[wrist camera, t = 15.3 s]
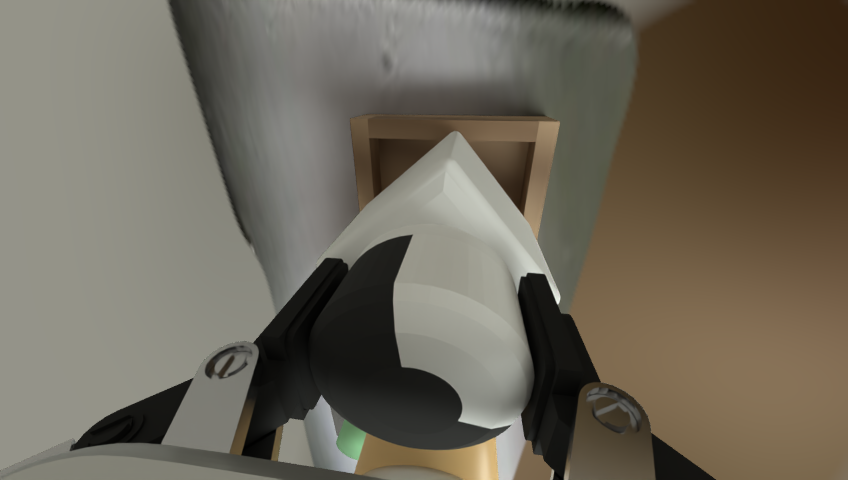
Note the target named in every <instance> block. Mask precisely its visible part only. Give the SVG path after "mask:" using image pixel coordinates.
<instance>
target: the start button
mask: <svg viewBox="0 0 848 480" xmlns="http://www.w3.org/2000/svg"><path fill="white" fill-rule="evenodd" d="M365 436H366V432H364V431H362V430H360V429H359V428H357V427H355V426H354V425H352V424H351V423H349V422H348V421H347V420H344V422H343V425H342V428H341V430H340V433H339V436H338V438H337V441H336V444H337V447H338V448H339V450H340V451H341V452H342V453H344V454H345V455H346V456H348V457H350V458H353V459H355V460H358V459H359V456H360V453H361V449H362V446H363V443H364V439H365Z"/></svg>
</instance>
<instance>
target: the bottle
mask: <svg viewBox="0 0 848 480" xmlns="http://www.w3.org/2000/svg"><path fill="white" fill-rule="evenodd" d="M354 474H358V475H364V476H370V477H376V478H382V479H388V480H498V466H497V452H496V438H493V439H490V440H488V441H486V442H484V443H481V444H478V445H475V446H471V447H466V448H461V449H452V450H425V449H415V448H408V447H404V446H400V445H396V444H393V443H389V442H387V441H384V440H382V439H379V438H377V437H374V436H372V435H370V434H368V433H366V436H365V439H364V443H363V446H362V449H361V453H360V456H359V459H358V463H357V466H356V469H355V473H354Z"/></svg>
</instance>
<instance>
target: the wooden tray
mask: <svg viewBox="0 0 848 480" xmlns="http://www.w3.org/2000/svg"><path fill="white" fill-rule="evenodd" d="M350 125H351V135H352V144H353V154H354V163H355V172H356V182H357V191H358V201H359V210H360V212H361V211H362V210H363V208H364V207H365V206H366V205H367V204H368V203H369V202H370V201H372V200H373V199H374V198H375V197H376V196H378V195H379V194H380V193H381V192H382V191H383V190H385V189H386V188H387V187H388V186H389V185H390V184H392V183H393V182H394V181H395V180H396V179H397V178H399V177H400V176H401V175H402V174H403V173H404V172H406V171H407V170H408V169H409V168H410V167H411V166H413V165H414V164H415V163H416V162H417V161H418V160H420V159H421V158H422V157H423V156H424V155H425V154H427V153H428V152H429V151H430V150H431V149H432V148H434V147H435V146H436V145H437V144H438V143H439V142H441V141H442V140H443V139H444V138H445V137H446V136H448V135H449V134H450V133H451V132H453V131H458V132H459V133H461V134H462V136H463V137H464V138H465V140H466V141H467V142H468V144H469V145H470V146H471V148H472V149H473V150H474V152H475V153H476V154H477V156H478V157H479V158H480V160H481V161H482V162H483V164H484V165H485V166H486V167H487V169H488V170H489V171H490V173H491V174H492V175H493V177H494V178H495V179H496V181H497V182H498V183H499V185H500V186H501V187H502V189H503V190H504V191H505V193H506V194H507V195H508V197H509V198H510V199H511V201H512V202H513V203H514V205H515V206H516V207H517V209H518V210H519V211H520V212H521V214H522V215H523V216H524V218H525V219H526V220H527V222H528V223H529V224H530V227H531V229H532V231H533V234H534V236H535V238H536V241H537V237H538V232H539V227H540V222H541V217H542V211H543V206H544V201H545V196H546V191H547V186H548V181H549V176H550V171H551V166H552V161H553V156H554V150H555V145H556V140H557V135H558V130H559V125H560V121H557V120H554V119H552V118H549V117H547V116H469V115H388V114H366V115H362V116H358V117H354V118H350Z"/></svg>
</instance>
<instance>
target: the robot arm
mask: <svg viewBox="0 0 848 480" xmlns="http://www.w3.org/2000/svg"><path fill="white" fill-rule="evenodd" d="M348 271H349V269H348V264H347V263H344V262H343V260H342V259H340V258H325V259H324V260H323V261H322V263H321V264H320V265H319V266H318V267H317V269H316V270H315V271H314V272H313V273H312V274H311V276H310V277H309V278H308V279H307V280H306V281H305V283H304V284H303V285H302V286H301V287H300V289H299V290H298V291H297V292H296V293H295V294H294V296H293V297H292V298H291V299H290V300H289V301H288V303H287V304H286V305H285V306H284V307H283V308H282V310H281V311H280V312H279V313H278V314H277V316H276V317H275V318H274V319H273V320H272V322H271V323H270V324H269V325H268V326H267V327H266V328H265V330H264V331H263V332H262V333H261V334H260V336H259V337H258V338H257V339H256V340H255V341H254V343H251V342H246V341H243V342H235V343H231V344H228V345H226V346H223V347H221V348H219V349H217V350H216V351H214V352H213V353H211V354H210V355H209V356H208V357H207V358H206V359H205V360H204V361H203V363H202V364H201V365H200V367H199V369H198V371H197V373H196V375H195V377H194V378H192V379H190V380H188V381H185V382H183V383H181V384H179V385H177V386H174V387H172V388H169V389H167V390H165V391H162V392H160V393H158V394H155V395H153V396H151V397H148V398H146V399H144V400H141V401H139V402H137V403H135V404H132V405H130V406H128V407H125V408H123V409H120V410H118V411H116V412H114V413H112V414H110V415H108V416H106V417H105V418H104V419H102V420H101V421H99V422H98V423H96V424H95V425H94V426H92V427H91V428H90V429H89V430H88V431H87V432H86V433H84V434H83V436H82V437H81V438H80V439H79V440H78V442H76V441H75V440H74V439H71V440H68V441H66V442H64V443H62V444H59V445H57V446H55V447H53V448H50V449H48V450H46V451H43V452H41V453H39V454H37V455H34V456H32V457H30V458H28V459H25V460H23V461H21V462H19V463H16V464H14V465H12V466H10V467H7V468H5V469H3V470H0V480H388V479H382V478H376V477H370V476H364V475H358V474H352V473H346V472H340V471H334V470H328V469H322V468H315V467H309V466H302V465H297V464H291V463H284V462H278V456H279V450H280V444H281V438H282V431H283V424H285V423H287V422H288V420H289V418H292V419H300V420H304V419H305V417H306V415H307V413H308V411H309V409H311V410H312V409H314V407H315V406H316V404H317V402H318V400H319V398H320V396H321V393H320V392H319V390H318V388H317V386H316V384H315V381H314V378H313V375H312V371H311V368H310V364H309V358H308V340H309V336H310V332H311V329H312V327H313V325H314V323H315V321H316V320H317V318H318V317H319V315H320V314H321V312H322V311H323V309H324V308H325V306H326V305H327V303H328V302H329V300H330V299H331V297H332V295H333V294H334V292H335V291H336V289H337V288H338V286H339V285H340V283H341V282H342V280H343V279H344V277H345V276H346V274H347V273H348ZM517 295H518V300H519V304H520V308H521V313H522V317H523V322H524V326H525V330H526V335H527V339H528V344H529V348H530V353H531V357H532V361H533V367H534V374H535V378H534V386H533V390H532V394H531V397H530V400H529V402H528V404H527V406H526V408H525V409H524V410H523V411H522V413H521V418H522V424H523V431H524V437H525V439H526V440H530V441H531V442H532V448H533V453H534V454H537V455H543V459H544V461H545V462H546V463H547V464H548V465H549V466H550V467H551V468H552V473H551V479H550V480H716V479H714V478H713V477H712V476H710V475H709V474H707V473H706V472H705V471H703V470H702V469H701V468H699V467H698V466H696V465H695V464H694V463H692V462H691V461H690V460H688V459H687V458H685V457H684V456H683V455H681V454H680V453H678V452H677V451H676V450H674V449H673V448H672V447H670V446H669V445H667V444H666V443H665V442H663V441H662V440H660V439H659V438H658V437H656V436H655V435H654V434H652V433H651V427H650V422H649V419H648V416H647V414H646V412H645V411H644V409H643V407H642V406H641V405H640V404H639V403H638V402H637V401H636V400H635V399H634V398H633V397H632V396H630V395H629V394H628V393H626V392H625V391H623V390H621V389H619V388H617V387H615V386H613V385H609V384H606V383H601V381H600V379H599V377H598V375H597V372H596V370H595V368H594V366H593V363H592V362H591V359H590V357H589V354H588V352H587V350H586V348H585V345H584V343H583V341H582V338H581V336H580V334H579V332H578V329H577V327H576V325H575V323H574V320H573V318H572V317H571V315H569V314H561V312H560V310H559V307H558V305H557V302H556V300H555V297H554V295H553V292H552V290H551V287H550V285H549V282H548V280H547V277H546V275H545V274H540V273H527V275H526V277H525V276H521V278H520V283H519V288H518V294H517Z"/></svg>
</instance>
